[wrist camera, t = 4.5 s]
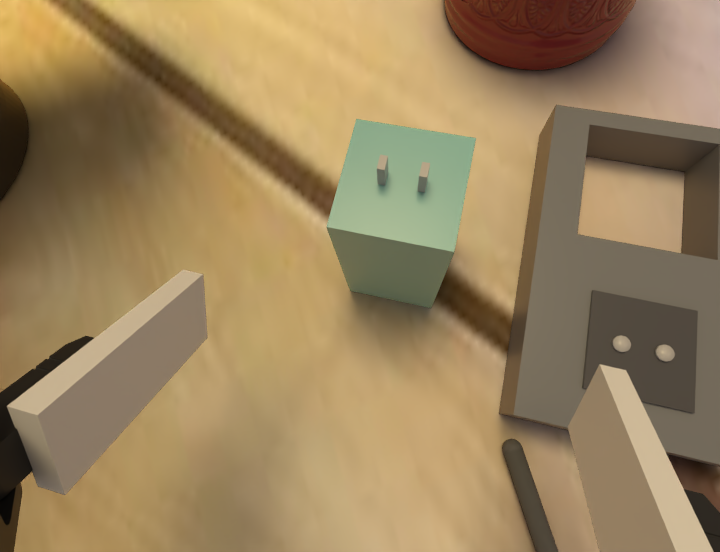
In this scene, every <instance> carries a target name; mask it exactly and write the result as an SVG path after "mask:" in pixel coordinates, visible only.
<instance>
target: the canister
mask: <svg viewBox="0 0 720 552" xmlns="http://www.w3.org/2000/svg"><path fill="white" fill-rule="evenodd" d="M635 2H636V0H444V3H445V12H446V15H447V19H448V21H449V23H450V26H451V27H452V29H453V31H454V32H455V34H456V35H457V36H458V38H459V39H460V40H461V41H462V42H463V43H464V44H465V45H466V46H467V47H469V48H470V49H471V50H472V51H474V52H475V53H477V54H478V55H480V56H482V57H484V58H486V59H488V60H490V61H492V62H495V63H498V64H500V65H504V66H508V67H512V68H518V69H527V70H543V69H552V68H558V67H562V66H566V65H569V64H572V63H575V62H577V61H579V60H582V59H584V58H585V57H587V56H589V55H591V54H592V53H593V52H595V51H596V50H597V49H599V48H600V47H601V46H602V45H603V44H604V43H605V42H606V41H607V40H608V39H609V37H610V36H611V35H612V34H613V33H614V32H615V31H616V30H617V29H618V28H619V27H620V26H621V25H622V23H623V22H624V20H625V19H626V17H627V15H628V14H629V12H630V11H631V9H632V8H633V6H634V4H635Z"/></svg>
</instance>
